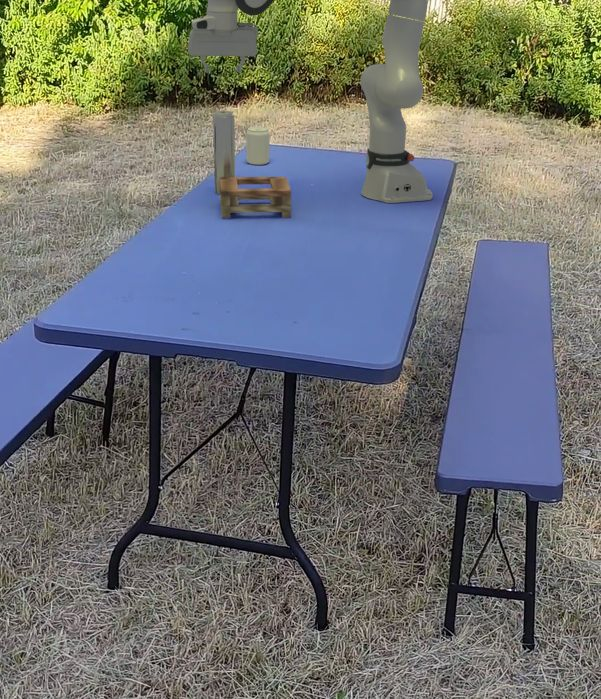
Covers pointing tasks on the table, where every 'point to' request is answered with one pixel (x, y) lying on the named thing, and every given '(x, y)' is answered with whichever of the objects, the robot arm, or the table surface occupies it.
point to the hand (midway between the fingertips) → (223, 71)
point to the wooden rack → (255, 195)
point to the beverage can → (257, 145)
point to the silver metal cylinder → (223, 146)
